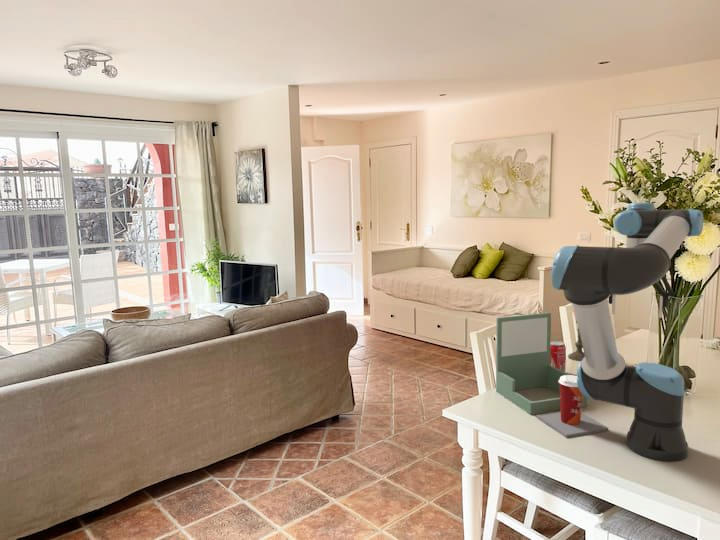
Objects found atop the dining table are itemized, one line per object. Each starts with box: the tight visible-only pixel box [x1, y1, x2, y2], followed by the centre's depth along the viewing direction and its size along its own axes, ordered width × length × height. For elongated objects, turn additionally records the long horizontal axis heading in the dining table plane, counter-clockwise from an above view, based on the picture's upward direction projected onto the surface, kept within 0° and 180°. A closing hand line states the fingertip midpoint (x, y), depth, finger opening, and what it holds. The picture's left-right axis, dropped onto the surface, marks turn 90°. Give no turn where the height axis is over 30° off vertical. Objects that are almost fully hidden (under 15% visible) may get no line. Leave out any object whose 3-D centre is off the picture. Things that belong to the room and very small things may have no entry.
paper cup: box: [558, 374, 583, 425], centre depth 162 cm, size 8×8×14 cm
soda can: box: [550, 340, 567, 373], centre depth 207 cm, size 7×7×13 cm
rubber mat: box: [535, 410, 609, 438], centre depth 163 cm, size 15×15×1 cm
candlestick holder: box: [567, 320, 585, 362], centre depth 225 cm, size 9×9×30 cm
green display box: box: [495, 312, 589, 416], centre depth 182 cm, size 22×22×28 cm
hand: (636, 315), depth 169 cm, fingers open, 13 cm apart
